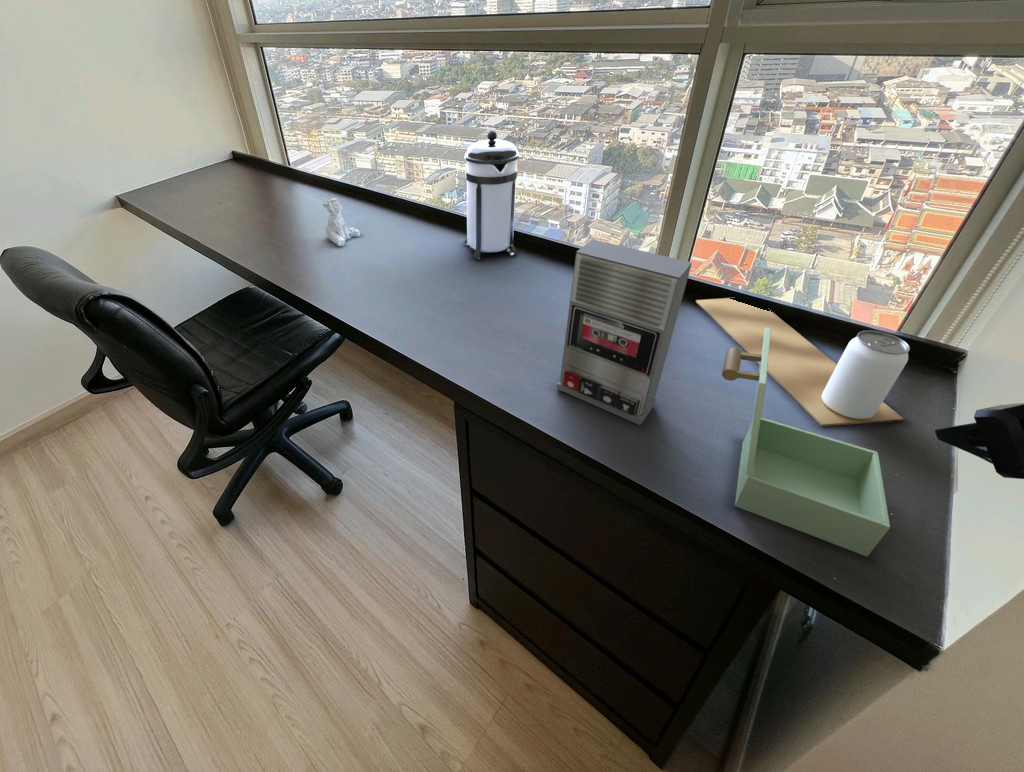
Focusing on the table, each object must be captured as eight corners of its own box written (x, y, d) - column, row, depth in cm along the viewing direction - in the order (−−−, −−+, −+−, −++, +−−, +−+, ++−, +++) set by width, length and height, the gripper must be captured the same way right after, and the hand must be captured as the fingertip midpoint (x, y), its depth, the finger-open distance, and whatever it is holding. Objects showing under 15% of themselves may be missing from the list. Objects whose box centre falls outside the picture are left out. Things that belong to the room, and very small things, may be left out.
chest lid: (771, 328, 59) (730, 324, 61) (766, 383, 51) (719, 377, 53) (758, 413, 65) (722, 407, 67) (752, 475, 57) (711, 466, 59)
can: (809, 397, 75) (841, 333, 68) (842, 387, 76) (876, 324, 70) (850, 425, 69) (889, 359, 63) (885, 415, 71) (927, 349, 64)
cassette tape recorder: (555, 390, 80) (572, 253, 66) (572, 372, 84) (591, 238, 70) (639, 427, 72) (678, 280, 58) (654, 405, 76) (693, 262, 62)
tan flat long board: (902, 420, 70) (904, 418, 70) (821, 426, 70) (822, 424, 70) (752, 297, 100) (753, 296, 100) (695, 301, 100) (695, 300, 100)
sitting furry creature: (341, 247, 134) (334, 206, 128) (318, 242, 138) (310, 202, 132) (361, 235, 141) (356, 195, 134) (339, 230, 145) (332, 191, 138)
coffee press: (530, 244, 129) (538, 126, 113) (498, 266, 119) (502, 140, 103) (477, 231, 139) (477, 120, 122) (443, 251, 128) (439, 133, 112)
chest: (858, 481, 62) (878, 451, 59) (867, 556, 54) (890, 527, 51) (742, 443, 68) (754, 415, 65) (734, 506, 60) (748, 477, 57)
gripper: (1248, 309, 40) (1010, 342, 56) (1071, 344, 38) (872, 368, 53) (1321, 443, 38) (1052, 439, 53) (1138, 489, 36) (911, 472, 51)
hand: (972, 426), depth 53 cm, fingers open, 9 cm apart
